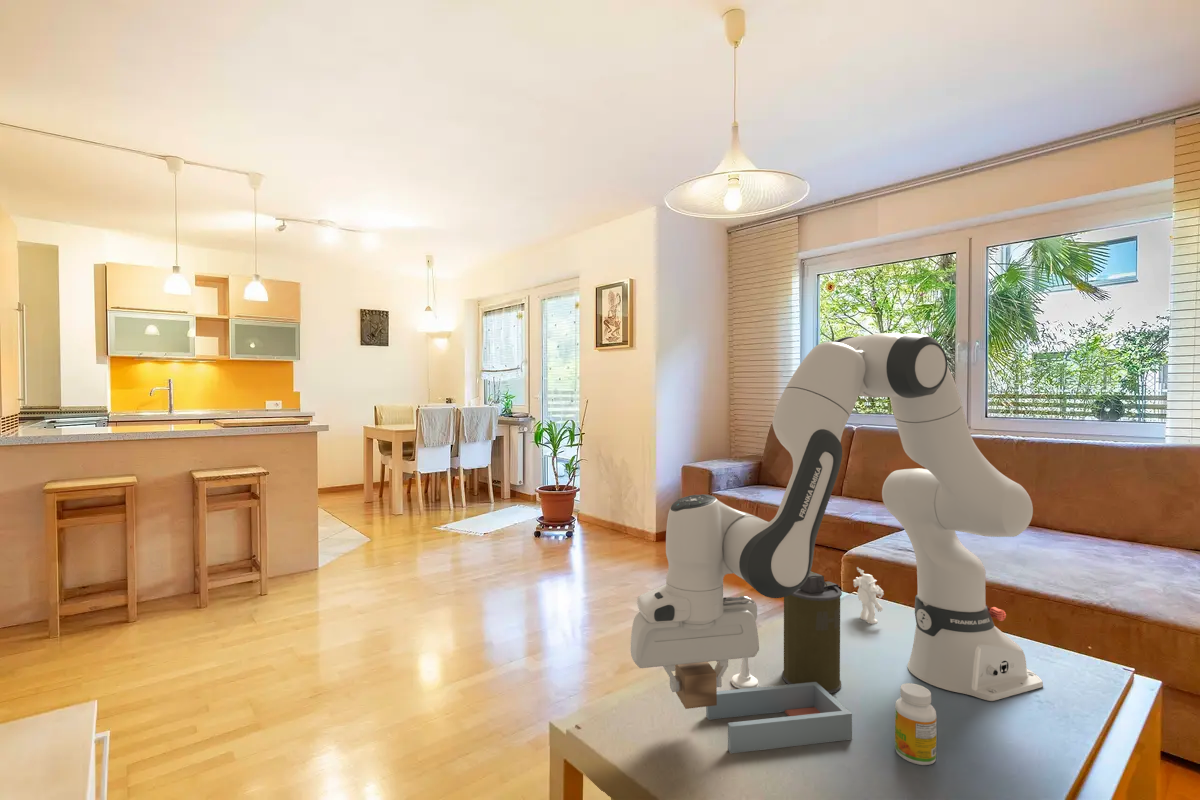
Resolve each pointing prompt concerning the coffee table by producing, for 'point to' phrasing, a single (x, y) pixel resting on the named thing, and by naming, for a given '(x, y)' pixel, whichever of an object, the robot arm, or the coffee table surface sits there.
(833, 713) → the channel
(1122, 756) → the coffee table surface
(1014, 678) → the robot arm
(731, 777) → the coffee table surface
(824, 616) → the canister
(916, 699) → the supplement bottle
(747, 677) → the chess piece
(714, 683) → the walnut cube
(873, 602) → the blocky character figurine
